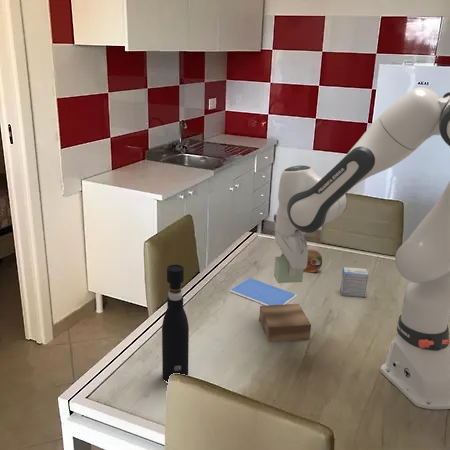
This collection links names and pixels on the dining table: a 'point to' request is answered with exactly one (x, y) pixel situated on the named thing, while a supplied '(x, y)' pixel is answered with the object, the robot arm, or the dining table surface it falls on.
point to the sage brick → (285, 271)
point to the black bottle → (175, 327)
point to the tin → (313, 261)
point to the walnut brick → (284, 322)
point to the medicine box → (354, 282)
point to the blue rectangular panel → (263, 292)
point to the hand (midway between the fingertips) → (288, 270)
